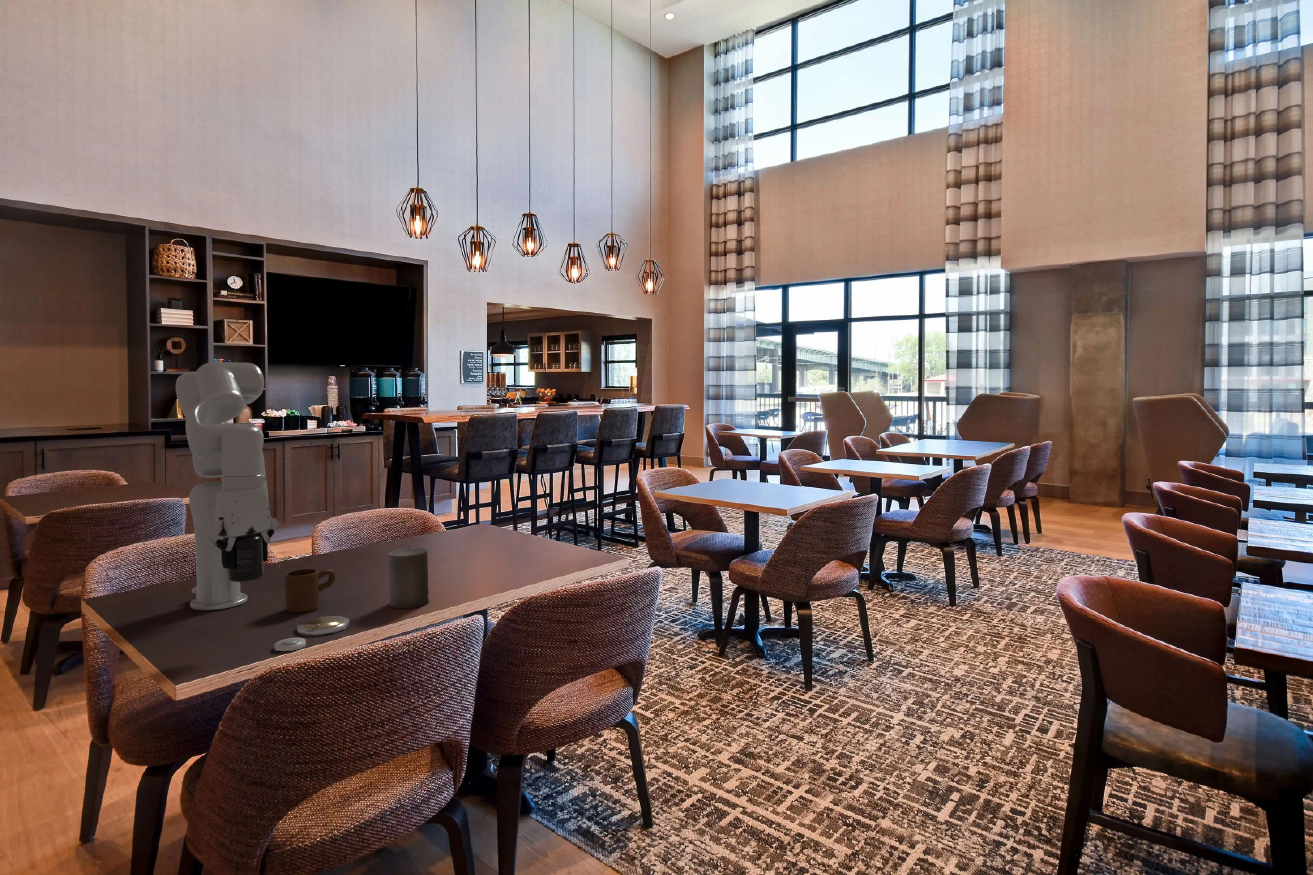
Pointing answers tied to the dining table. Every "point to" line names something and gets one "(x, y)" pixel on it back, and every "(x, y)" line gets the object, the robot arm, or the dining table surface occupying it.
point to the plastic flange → (290, 644)
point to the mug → (305, 589)
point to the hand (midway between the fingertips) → (245, 563)
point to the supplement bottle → (247, 558)
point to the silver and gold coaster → (323, 625)
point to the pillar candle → (408, 578)
